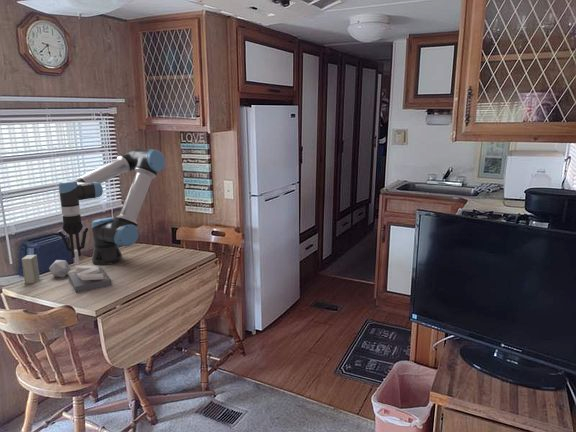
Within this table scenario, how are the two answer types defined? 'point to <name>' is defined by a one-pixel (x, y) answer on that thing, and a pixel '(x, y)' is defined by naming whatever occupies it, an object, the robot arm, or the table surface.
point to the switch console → (89, 282)
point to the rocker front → (91, 276)
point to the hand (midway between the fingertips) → (77, 263)
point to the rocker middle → (89, 271)
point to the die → (59, 268)
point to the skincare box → (30, 268)
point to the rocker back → (83, 268)
